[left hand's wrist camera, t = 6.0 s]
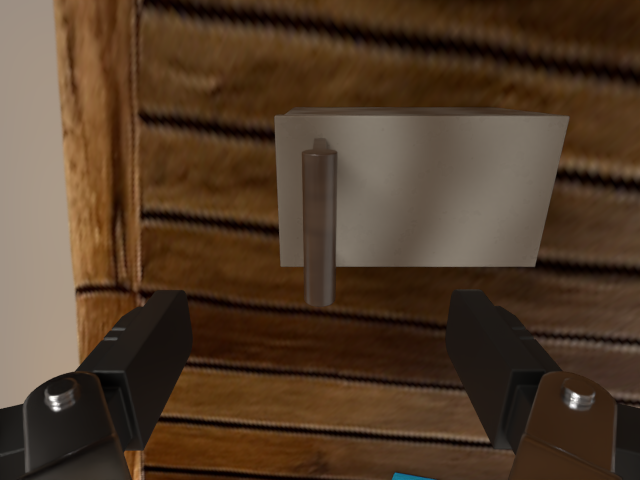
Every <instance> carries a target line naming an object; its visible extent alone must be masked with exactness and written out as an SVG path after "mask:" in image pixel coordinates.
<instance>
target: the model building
mask: <svg viewBox="0 0 640 480" xmlns="http://www.w3.org/2000/svg"><path fill="white" fill-rule="evenodd" d="M392 480H435V479H429V478H423V477H417V476H412V475H406V474H400V473H395V474H394V476H393V478H392Z"/></svg>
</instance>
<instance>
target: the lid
mask: <svg viewBox="0 0 640 480" xmlns="http://www.w3.org/2000/svg"><path fill="white" fill-rule="evenodd" d="M274 119H275V142H276V166H277V189H278V213H279V237H280V260H281V267H304V299H305V301H306V303H308V304H309V305H312V306H317V307H323V306H328V305H330V304H332V303H333V302H334V301H335V287H336V267H535V264H536V259H537V255H538V251H539V246H540V242H541V238H542V233H543V229H544V225H545V220H546V216H547V212H548V208H549V203H550V199H551V195H552V190H553V186H554V182H555V177H556V173H557V169H558V164H559V160H560V156H561V151H562V147H563V143H564V139H565V134H566V130H567V126H568V121H569V116H564V115H276V116H275V117H274Z"/></svg>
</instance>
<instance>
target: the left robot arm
mask: <svg viewBox="0 0 640 480" xmlns="http://www.w3.org/2000/svg"><path fill="white" fill-rule="evenodd" d="M192 339H193V337H192V328H191V322H190V315H189V308H188V302H187V296H186V293H185V292H184V291H183V290H157V291H156V292H155V293H154V294H153V295H152V297H151V298H150V299H149V300H148V301H147V303H146V304H145V305H144V306H143V307H137V308H135V309H134V310H132V311H130V312H129V313H127V314H126V315H124V316H122V317H121V319H120V320H119V321H118V322H117V323H116V324H115V326H114V327H113V328H112V331H109V332H108V334H107V335H106V336H105V337H104V340H102V341H101V342H100V343H99V344H98V345H97V346H96V347H95V349H94V350H93V351H92V352H91V353H90V354H89V356H88V357H87V358H86V359H85V360H84V361H83V363H82V364H81V365H80V366H79V367H78V368H77V369H76V371H75V372H70V373H66V374H63V375H59V376H57V377H54V378H52V379H50V380H48V381H46V382H45V383H43V384H42V385H40V386H39V387H37V388H36V389H35V390H34V391H33V392H31V393H30V395H29V396H28V397H27V399H26V400H25V402H24V404H20V405H16V406H12V407H7V408H3V409H0V480H132V478H131V475H130V472H129V469H128V466H127V462H126V459H125V456H124V451H125V450H144V448H145V446H146V444H147V442H148V440H149V438H150V436H151V434H152V431H153V429H154V427H155V425H156V423H157V421H158V419H159V417H160V415H161V413H162V411H163V409H164V407H165V405H166V403H167V401H168V399H169V397H170V395H171V393H172V390H173V388H174V386H175V384H176V382H177V380H178V378H179V376H180V374H181V372H182V370H183V368H184V366H185V364H186V362H187V360H188V358H189V355H190V353H191V349H192ZM446 348H447V352H448V355H449V357H450V359H451V361H452V363H453V365H454V367H455V369H456V371H457V373H458V376H459V378H460V380H461V382H462V384H463V386H464V388H465V390H466V392H467V394H468V396H469V398H470V400H471V403H472V405H473V407H474V409H475V411H476V413H477V415H478V417H479V419H480V421H481V423H482V425H483V427H484V429H485V432H486V434H487V436H488V438H489V440H490V442H491V444H492V446H493V448H494V449H512V450H513V452H514V453H515V455H516V456H515V459H514V462H513V466H512V469H511V472H510V475H509V478H508V480H640V408H636V407H631V406H627V405H622V404H618V403H616V402H615V400H614V398H613V397H612V396H611V395H610V393H609V392H608V391H606V390H605V389H604V388H603V387H601V386H600V385H599V384H597V383H595V382H594V381H592V380H590V379H588V378H586V377H583V376H581V375H577V374H574V373H570V372H564V371H562V370H561V369H560V367H559V366H558V365H557V364H556V363H555V362H554V360H553V359H552V358H551V357H550V356H549V355H548V353H547V352H546V351H545V350H544V349H543V348H542V346H541V345H540V344H539V343H538V342H537V341H536V340H534V338H533V336H532V335H531V334H530V332H529V331H528V330H525V327H524V325H523V324H522V323H521V322H520V321H519V320H518V318H517V317H516V316H515V315H513V314H512V313H510V312H508V311H507V310H505V309H504V308H502V307H501V306H494V305H493V304H492V302H491V301H490V300H489V299H488V297H487V296H486V295H485V294H484V292H483V291H482V290H454V291H453V293H452V295H451V301H450V308H449V315H448V321H447V328H446Z"/></svg>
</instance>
